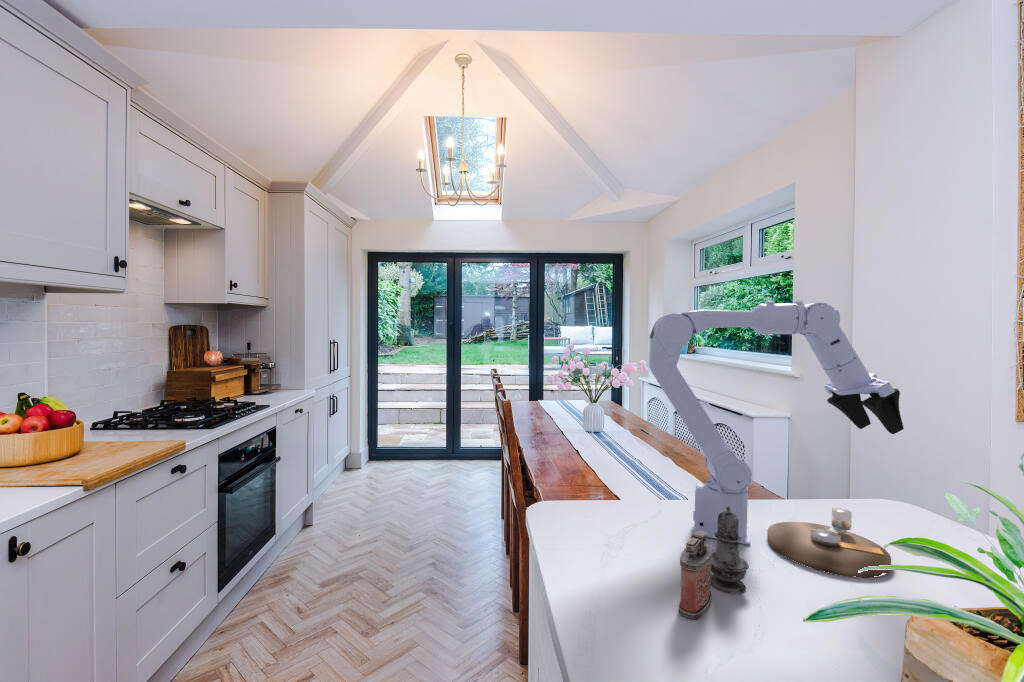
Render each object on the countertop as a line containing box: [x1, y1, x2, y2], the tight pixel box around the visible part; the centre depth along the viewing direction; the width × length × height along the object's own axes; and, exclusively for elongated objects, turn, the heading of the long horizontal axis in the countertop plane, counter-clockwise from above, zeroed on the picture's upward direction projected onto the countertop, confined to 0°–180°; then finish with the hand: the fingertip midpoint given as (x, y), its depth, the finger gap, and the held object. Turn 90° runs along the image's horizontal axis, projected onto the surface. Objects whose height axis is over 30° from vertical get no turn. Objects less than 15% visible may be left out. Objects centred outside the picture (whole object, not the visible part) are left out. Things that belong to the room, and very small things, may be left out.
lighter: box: [678, 531, 714, 621], centre depth 64 cm, size 8×3×10 cm, turn 141°
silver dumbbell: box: [811, 507, 853, 547], centre depth 83 cm, size 11×4×4 cm, turn 125°
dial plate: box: [766, 521, 892, 579], centre depth 81 cm, size 18×18×2 cm
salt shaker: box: [711, 506, 750, 595], centre depth 69 cm, size 6×6×12 cm
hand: (880, 428), depth 82 cm, fingers open, 7 cm apart
